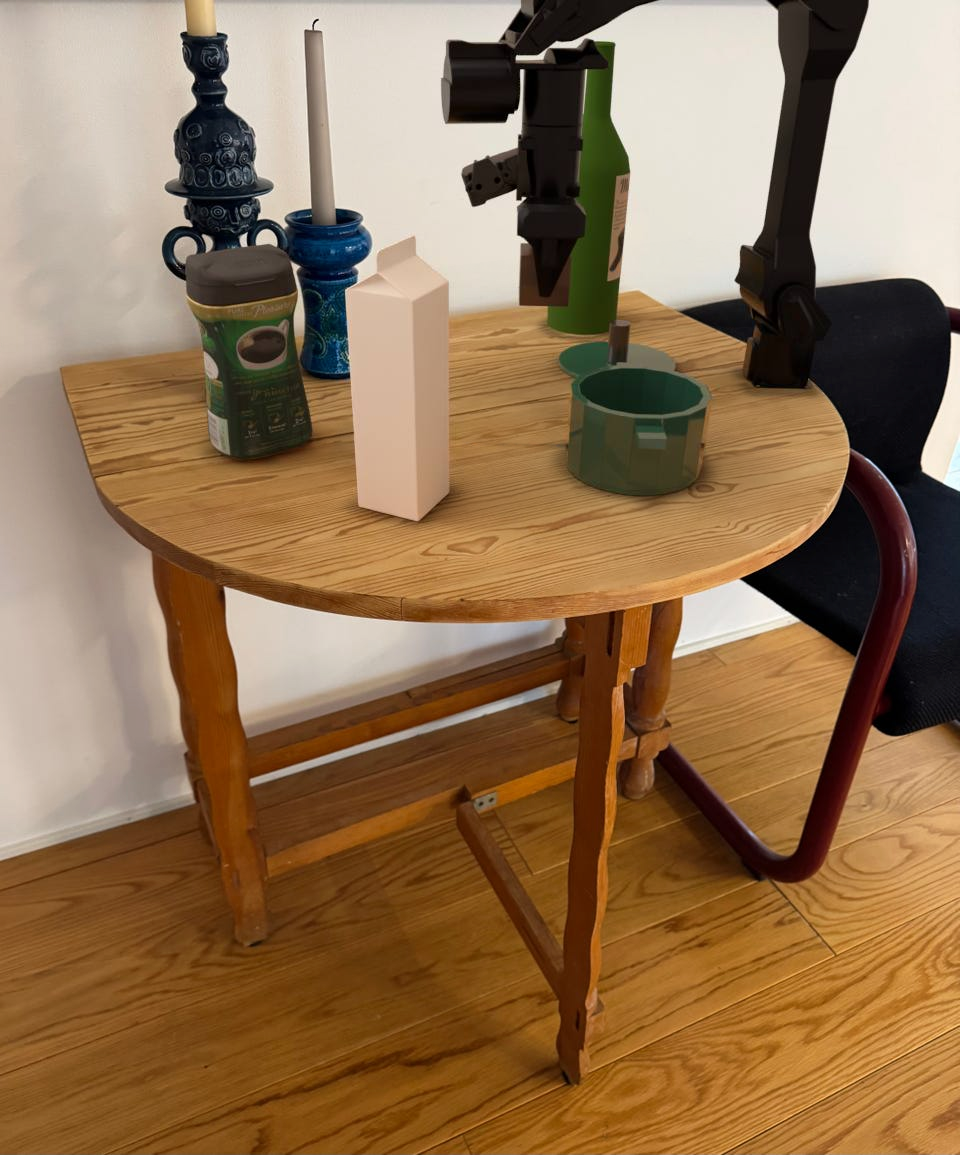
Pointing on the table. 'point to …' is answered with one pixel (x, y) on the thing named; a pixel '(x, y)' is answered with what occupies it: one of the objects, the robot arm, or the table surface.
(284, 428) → the coffee jar
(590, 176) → the wine bottle
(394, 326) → the milk
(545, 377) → the table surface
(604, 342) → the lid
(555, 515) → the table surface
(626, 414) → the tin
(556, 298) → the block
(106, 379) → the table surface
